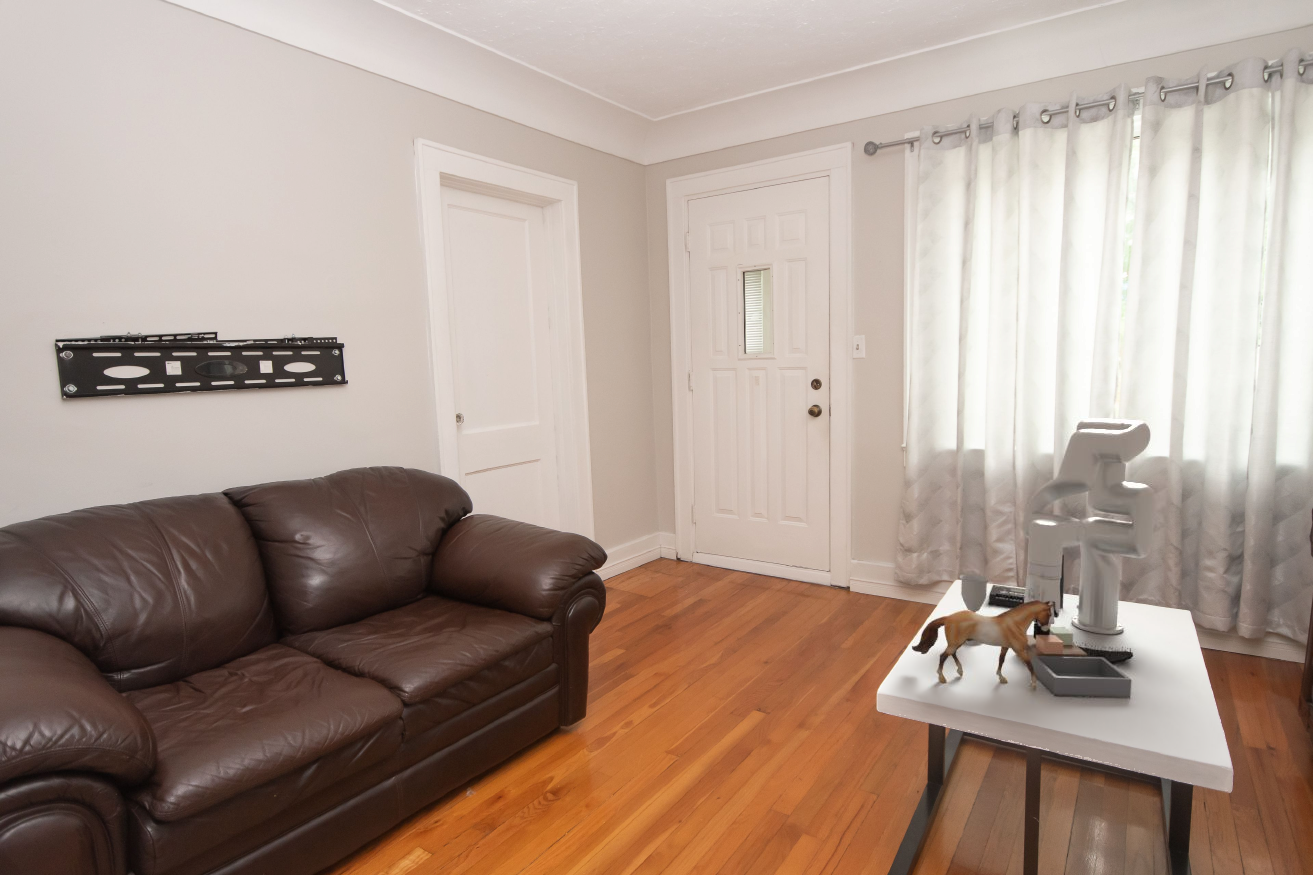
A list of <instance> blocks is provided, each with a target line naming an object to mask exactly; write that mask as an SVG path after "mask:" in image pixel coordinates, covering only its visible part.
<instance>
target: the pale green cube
mask: <svg viewBox="0 0 1313 875" xmlns="http://www.w3.org/2000/svg"><path fill="white" fill-rule="evenodd" d="M1050 635H1055V636H1056V637H1058V638H1059V639H1060V640H1061V641H1063V645H1073V642H1074V633H1073V632H1072V631H1070V630H1069V629H1068V628H1066V626H1050Z"/></svg>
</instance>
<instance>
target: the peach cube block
mask: <svg viewBox="0 0 1313 875" xmlns="http://www.w3.org/2000/svg"><path fill="white" fill-rule="evenodd" d="M1036 647H1037V648H1038V649H1039V650H1040V651H1041V652H1042V653H1044V654H1063V641H1061V640H1060V639H1059V638H1058V637H1056V636H1055V635H1036Z"/></svg>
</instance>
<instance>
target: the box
mask: <svg viewBox="0 0 1313 875" xmlns="http://www.w3.org/2000/svg"><path fill="white" fill-rule="evenodd" d="M1032 665H1033V668H1034V673H1035V677H1036V681H1038V682H1039V683H1040V684H1041V685H1042V686H1043V687H1044V688H1045V689H1046V690H1047V691H1048V692H1049V693H1050V694H1051V695H1052V696H1053V697H1057V698H1058V697H1062V698H1065V697H1067V698H1094V699H1095V698H1097V699H1098V698H1103V699H1131V695H1132V693H1131V692H1132V679H1131V677H1129V676H1128V675H1126V674H1125V673H1124V672H1123V671H1121V670H1120V669H1119V668H1117V667H1116V666H1115V664H1111V663H1110V662H1108V661H1107V660H1106V659H1105V658H1103V657H1064V656H1032Z"/></svg>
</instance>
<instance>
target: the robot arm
mask: <svg viewBox="0 0 1313 875" xmlns="http://www.w3.org/2000/svg"><path fill="white" fill-rule="evenodd" d="M1075 430H1076V431H1075V432H1073V433H1072V435H1071V436H1070V439H1069V441H1068V444H1067V447H1066V449H1065V453H1064V455H1063V458H1062V461H1061V464H1060V467H1059V471H1058V474H1057V476H1056V477H1055V478H1053V479H1051V480H1049V481H1048V482H1047V483H1045V484H1044V485H1043V486H1040V488H1039V489H1037V491H1035V492H1034V494H1033V495H1032V496H1031V497H1030V499H1029V501H1028V502H1027V505H1026V509H1025V512H1024V515H1023V517H1022V518H1023V519H1022V523H1021V530H1022V534H1023V536H1025V538H1027V539H1028V544H1027V545H1028V547H1027V548H1028V549H1027V569H1026V571H1027V573H1026V574H1027V575H1026V581H1025V588H1024V589H1025V597H1024V603H1026V602H1031V601H1036V600H1037V601H1041V602H1043V603H1044V602H1047V601H1050V603H1049V604H1048V605H1052V604H1054V606H1053V607H1051V613H1052V616H1051V617H1050V619H1049V623H1050V627H1052V625H1053V624H1054V625H1055V619H1056V618H1059V617H1060V613H1061V612H1060V611H1061V610H1060V609H1061V608H1060V578H1061V574H1062V555H1063V551H1064V550H1063V548H1073V547H1077V546H1079V550H1080V571H1079V590H1078V604H1077V605H1076V609H1077V612H1078V613H1077V615H1074V616H1073V617H1071V624H1072V625H1073V626H1075V627H1076V628H1078V629H1080V630H1083V631H1086V632H1089V633H1096V634H1103V635H1116V634H1120V633H1122V632H1124V625H1123V624H1122V623H1121V622H1120V621H1118V613H1119V612H1118V609H1119V596H1120V577H1121V569H1120V565H1119V563H1118V561H1117V560H1116V558H1115V556H1114V555H1117V556H1124V557H1129V558H1136V559H1143V558H1146V557H1147V556H1149V554H1150V553H1151V550H1152V546H1153V541H1154V540H1153V539H1154V528H1155V516H1156V507H1157V506H1156V505H1157V504H1156V501H1157V500H1156V494H1155V491H1154V489H1153V488H1152V487H1150V486H1149V485H1147V484H1145V483H1136V482H1129V481H1126V471H1127V470H1126V468H1127V465H1126V464H1127V463H1129V462H1131V461H1132V460H1133V459H1135V458H1136V457H1137V456H1139V455H1141V453H1143V452H1144V451H1145V450H1146V449H1147V447H1148V446H1149V444H1150V441H1151V430H1150V428H1149V426H1148V424H1147V423H1145V422H1144V421H1141V420H1133V419H1132V420H1131V419H1115V418H1114V419H1112V418H1087V419H1086V418H1085V419H1083V420H1080V421H1079V422H1078V424H1077V426H1076V429H1075ZM1083 493H1087V504H1088V508H1089V509H1090V510H1092V511H1093V512H1096V513H1100V514H1105V515H1106V514H1107V515H1113V516H1120V517H1126V518H1127V517H1128V518H1129V519H1130V521H1126V520H1118V519H1113V518H1107V517H1106V518H1105V517H1088V518H1085V519H1083V520H1081V519H1078V518H1075V517H1072V516H1064V515H1059V514H1053V513H1047V512H1044V511H1045V510H1046V509H1047V507H1049V505H1051V504H1053V503H1054V502H1056V501H1058V500H1061V499H1064V498H1068V497H1072V496H1076V495H1080V494H1083ZM1032 635H1033V637H1034V639H1036V635H1050V628H1049V629H1048V630H1047V631H1043V630H1042V629H1041V625H1040V623H1039V622H1038V621H1037V619H1034V620H1033V634H1032Z"/></svg>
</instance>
